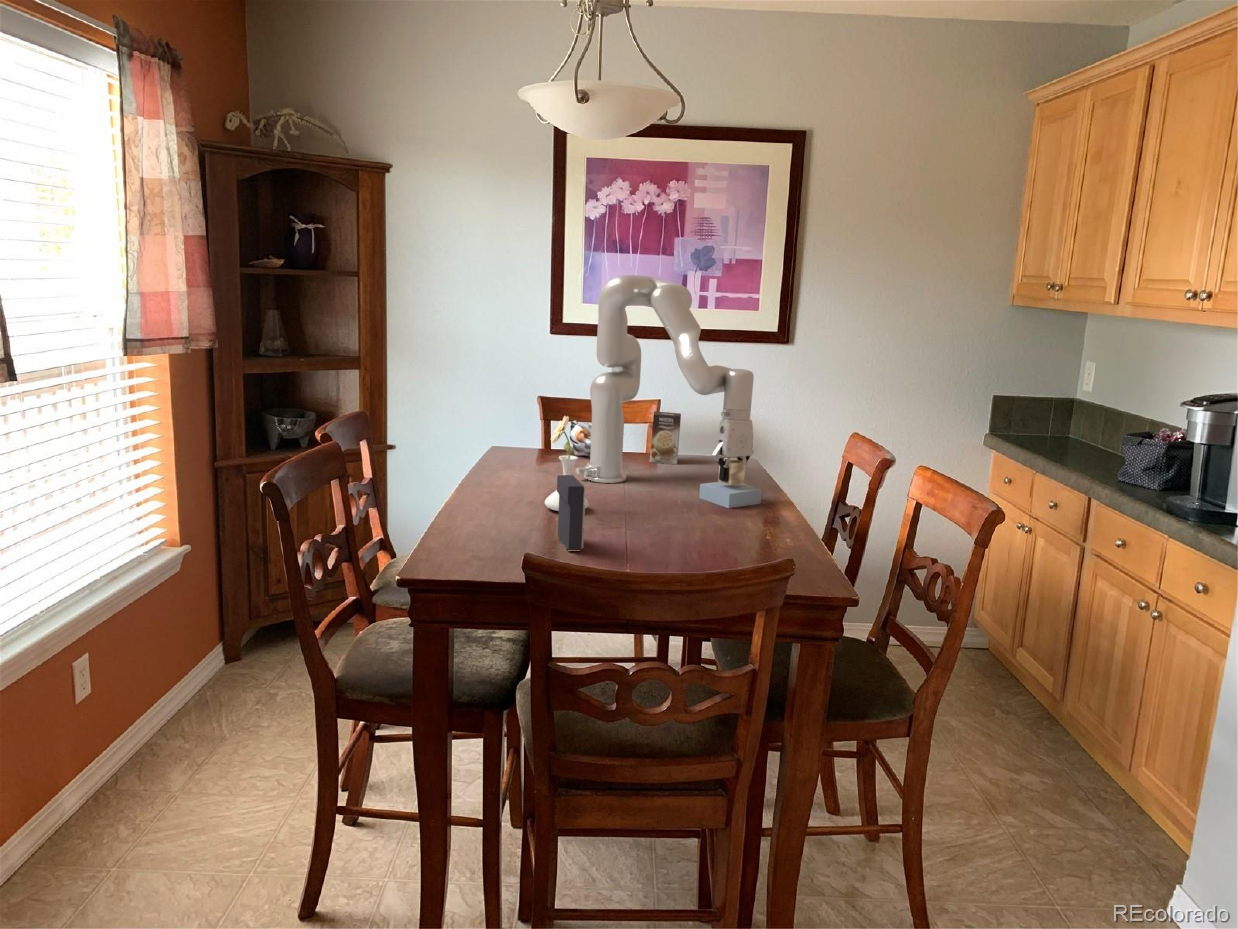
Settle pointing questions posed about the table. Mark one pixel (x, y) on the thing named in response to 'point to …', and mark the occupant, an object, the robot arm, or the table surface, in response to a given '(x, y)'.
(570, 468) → the flower in vase
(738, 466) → the birch block
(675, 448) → the coffee box
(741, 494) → the base block
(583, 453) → the lucky cat figurine
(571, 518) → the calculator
